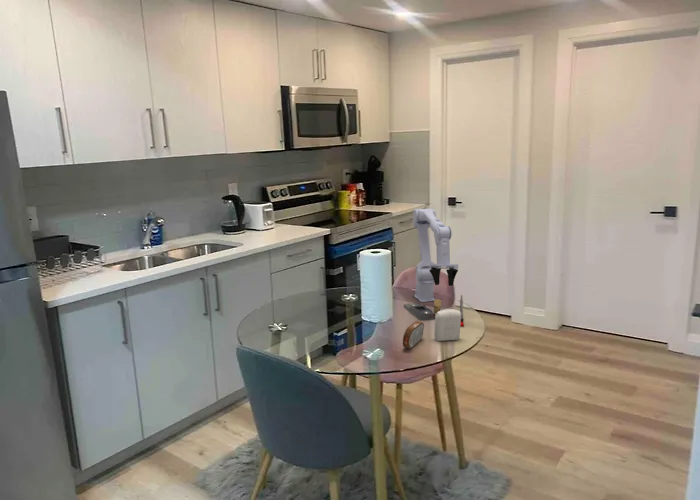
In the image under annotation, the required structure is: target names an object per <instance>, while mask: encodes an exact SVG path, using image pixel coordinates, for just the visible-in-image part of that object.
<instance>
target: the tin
mask: <svg viewBox="0 0 700 500" xmlns="http://www.w3.org/2000/svg"><path fill="white" fill-rule="evenodd" d="M424 324H425V323H424V322H422V321H420V320H419V321H418V320H415V321H414V322H412V323H411V324H410V325H408V326H407V327H406V329H405V331H404V333H403V337H402V347H403V348H406V349H413V348H414V347H415V346H417V344H418V343H419V342H420V341H421V340H422V339H423V335H424V328H425V325H424ZM413 346H414V347H413Z"/></svg>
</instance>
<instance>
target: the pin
mask: <svg viewBox="0 0 700 500" xmlns="http://www.w3.org/2000/svg"><path fill="white" fill-rule="evenodd" d="M441 308H442V299H440V298H435V299H434V301H433V312H434V313H435V314H436V313H437V312H439V311H441Z"/></svg>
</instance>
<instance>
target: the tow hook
mask: <svg viewBox="0 0 700 500" xmlns="http://www.w3.org/2000/svg"><path fill="white" fill-rule="evenodd" d="M463 299H464V298H463V295H462V294H460V300H459V311H460V313H461V324H460V328H461V327H462V328H464V326H465V324H464V306H463V305H464V300H463Z"/></svg>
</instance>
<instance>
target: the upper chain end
mask: <svg viewBox="0 0 700 500" xmlns="http://www.w3.org/2000/svg"><path fill="white" fill-rule="evenodd" d="M417 309H423V310H417ZM410 310H412V311H413V312H414V313H415V314H416V316H415V318H417V320H419V321H427V320H428V321H429V320H436V313H434V311H432V310H431V309H430V308H428V307H427V306H426V305H424V304H423V305H421V306H412V307H410Z"/></svg>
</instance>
